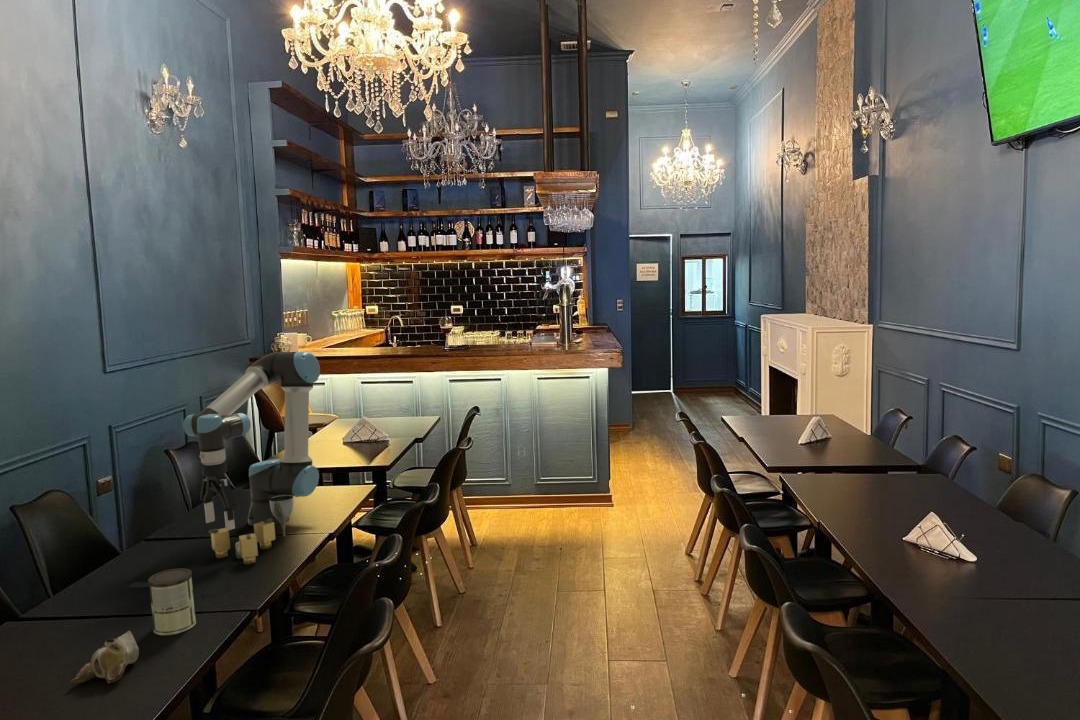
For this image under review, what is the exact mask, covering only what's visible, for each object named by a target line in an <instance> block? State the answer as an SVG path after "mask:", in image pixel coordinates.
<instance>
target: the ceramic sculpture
mask: <svg viewBox="0 0 1080 720" xmlns="http://www.w3.org/2000/svg"><path fill="white" fill-rule="evenodd" d="M134 637H135V636H134V635H133V633H132V632H131V630H128V631H126V632H125V633H123V634H122V635H120V636H118V637H117V638H109V639H106V640H105V642H104V644H103V645H101V647H99V648H97V650H96V651H95V652H94V653H93V654H92V657H91V659H90V662H87V663H85V664H84V666H83V667H81V668H80V670H79V671H78V673H77V674H76V675H75V678H72V679H70V683H72V684H73V683H80V682H81V683H82V682H87V681H88V680H90V679H92V678H93V677H94V676H96V678H101V679H105V680H106V682H107V684H111V683H114V682H117V681H118V680H120V679H121V678H122V676H123V674H125V673H124V672H125V670H126V668H127V666H128V665H131V664H134V663H135V662H136V661H137V660H138V658H139V655H140V648H139V646H138V644H137V642H136V639H135V638H134Z"/></svg>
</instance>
